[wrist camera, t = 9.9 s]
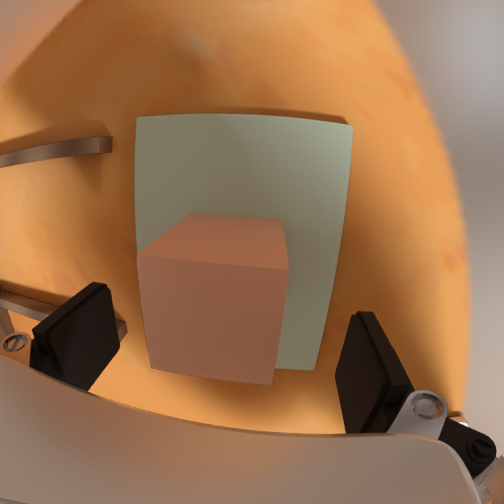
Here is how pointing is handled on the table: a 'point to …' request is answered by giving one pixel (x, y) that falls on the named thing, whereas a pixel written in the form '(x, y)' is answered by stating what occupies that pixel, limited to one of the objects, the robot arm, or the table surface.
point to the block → (215, 297)
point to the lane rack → (91, 145)
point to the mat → (254, 197)
